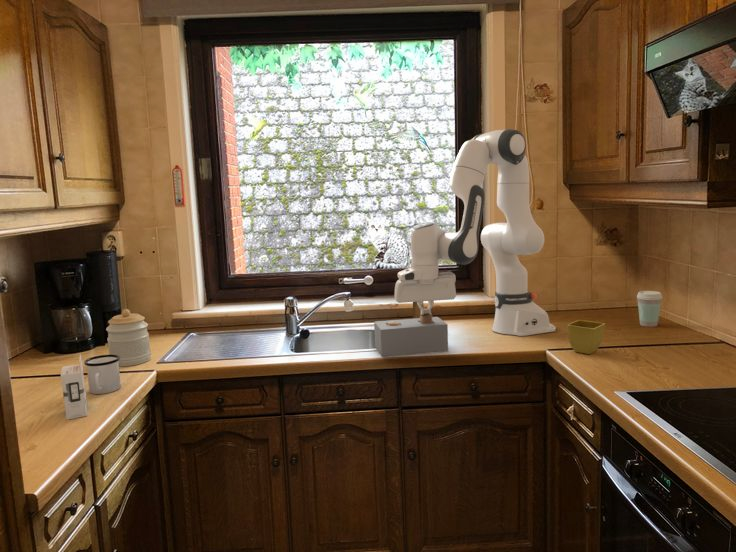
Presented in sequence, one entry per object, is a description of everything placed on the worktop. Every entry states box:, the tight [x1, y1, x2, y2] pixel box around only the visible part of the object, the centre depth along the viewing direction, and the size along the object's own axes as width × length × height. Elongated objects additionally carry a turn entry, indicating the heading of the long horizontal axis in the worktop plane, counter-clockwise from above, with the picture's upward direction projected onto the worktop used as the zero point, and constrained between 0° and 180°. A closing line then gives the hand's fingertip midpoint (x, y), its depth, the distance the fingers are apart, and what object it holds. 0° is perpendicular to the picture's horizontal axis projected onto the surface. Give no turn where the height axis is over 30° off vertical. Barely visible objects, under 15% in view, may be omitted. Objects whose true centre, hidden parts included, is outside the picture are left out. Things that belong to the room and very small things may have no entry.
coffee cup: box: [636, 290, 663, 328], centre depth 223 cm, size 8×9×12 cm
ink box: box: [60, 352, 88, 421], centre depth 157 cm, size 8×5×15 cm, turn 24°
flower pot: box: [566, 319, 606, 355], centre depth 193 cm, size 9×9×9 cm
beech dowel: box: [388, 322, 400, 326], centre depth 203 cm, size 4×4×9 cm
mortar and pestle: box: [412, 302, 424, 319], centre depth 230 cm, size 7×6×18 cm
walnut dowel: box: [420, 313, 433, 324], centre depth 205 cm, size 4×4×9 cm
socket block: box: [373, 316, 449, 358], centre depth 204 cm, size 22×12×9 cm, turn 99°
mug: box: [83, 354, 122, 395], centre depth 174 cm, size 12×10×9 cm
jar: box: [105, 308, 152, 367], centre depth 203 cm, size 13×13×18 cm
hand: (425, 314), depth 204 cm, fingers closed, pressing on walnut dowel
